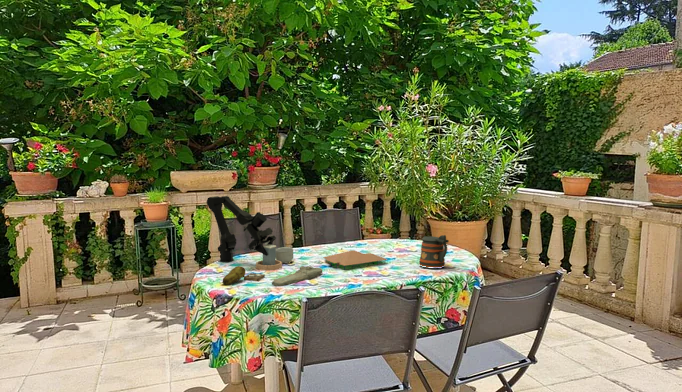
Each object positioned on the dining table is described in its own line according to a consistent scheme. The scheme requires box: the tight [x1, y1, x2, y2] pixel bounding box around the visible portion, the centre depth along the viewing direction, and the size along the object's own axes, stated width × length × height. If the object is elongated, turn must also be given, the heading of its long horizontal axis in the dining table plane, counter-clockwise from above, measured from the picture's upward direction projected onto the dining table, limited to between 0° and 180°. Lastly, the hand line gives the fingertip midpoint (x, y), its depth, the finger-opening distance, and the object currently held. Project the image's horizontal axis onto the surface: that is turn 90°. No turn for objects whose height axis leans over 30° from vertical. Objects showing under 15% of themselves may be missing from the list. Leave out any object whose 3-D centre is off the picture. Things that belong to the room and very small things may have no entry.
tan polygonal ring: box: [255, 259, 283, 271], centre depth 278 cm, size 14×14×3 cm
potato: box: [222, 265, 247, 286], centre depth 247 cm, size 8×13×8 cm, turn 127°
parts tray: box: [243, 272, 266, 282], centre depth 254 cm, size 8×8×2 cm
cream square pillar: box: [262, 244, 277, 266], centre depth 277 cm, size 5×5×13 cm
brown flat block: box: [323, 249, 389, 271], centre depth 291 cm, size 23×33×8 cm
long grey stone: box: [271, 265, 323, 287], centre depth 256 cm, size 35×5×10 cm
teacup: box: [275, 246, 294, 264], centre depth 293 cm, size 14×11×8 cm
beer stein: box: [418, 234, 449, 267], centre depth 284 cm, size 19×15×20 cm
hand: (270, 254), depth 276 cm, fingers open, 6 cm apart
